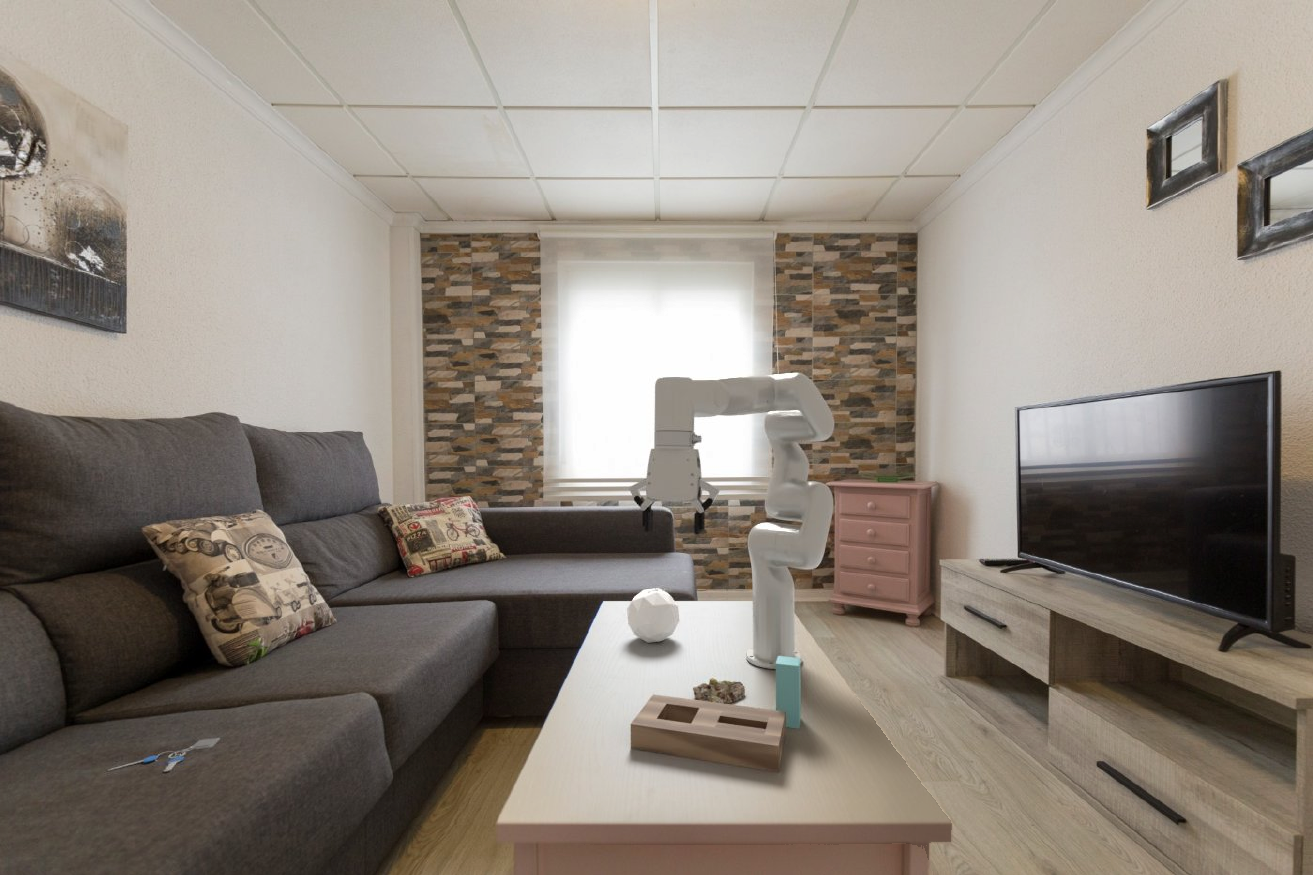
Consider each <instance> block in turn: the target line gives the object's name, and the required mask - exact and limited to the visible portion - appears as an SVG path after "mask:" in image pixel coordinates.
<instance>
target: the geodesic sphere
mask: <svg viewBox="0 0 1313 875" xmlns="http://www.w3.org/2000/svg"><path fill="white" fill-rule="evenodd" d="M670 594H671V593H670ZM670 594H669V593H668V592H667V591H666V587H664V588H659V587H656V588H648V589H643V590H641V591H640V592H639V593H637V594H636V595H635V596H634V597H633V599H632V600H631V602H630V603H629V605H628V607H627V609H626V611H627V624H628V626H629V628H630V629H631V631H632V633H633V635H634V636H636V637H637V638H639V639H641V640H642V641H644V642H646V643H647V644H649V643H650V644H651V643H657V642H663V641H664V640H666V639H667V638H668V637H670V636H672V635H673V634H674V632H675V631H676V628H677V626H678V624H679V622H680V614H679V606H678V604H677V602H676V601H675V600H674V598H673V597H672V595H670Z"/></svg>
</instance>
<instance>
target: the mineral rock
mask: <svg viewBox="0 0 1313 875" xmlns="http://www.w3.org/2000/svg"><path fill="white" fill-rule="evenodd" d="M692 690H693V695H694V698H696V700H700V701H708V702H716V703H723V704H731V703H734V702H737V701H740V700H741V699H743V697H744V696H745V694H746V689H745V685H744V684H743V683H742V682H741V681H730V680H722V681H720V680H719V681H718V680H717V679H715V678H714V677H712V678H710V679H709V683H707V682H703V683H700V684H699V685H698V686H693V687H692Z"/></svg>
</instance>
